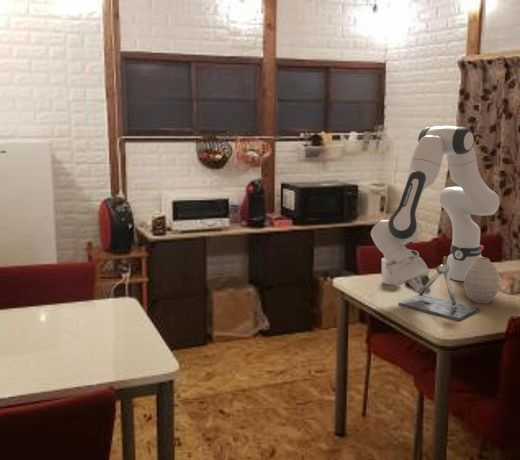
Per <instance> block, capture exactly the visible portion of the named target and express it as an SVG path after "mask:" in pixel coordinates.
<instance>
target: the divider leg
mask: <svg viewBox="0 0 520 460" xmlns="http://www.w3.org/2000/svg"><path fill="white" fill-rule="evenodd" d="M435 269H436V271H435V273H434V274H433V275H432V276H431V278H430V280H429V281H428V282H427V284H426V285H425V286H424V287H423V288H422V290H420V291H418V295H420V296H422V295H425V294H426V292H427V291H428V289H430V287H431V286H432V285H433V284H434V282H435V281H436V280H437V279H438V277H440V276H441V275H444V274H443V273H446V271H447V268H446V266H445V265H442V264H440V265H439V264H438V266H436V268H435Z"/></svg>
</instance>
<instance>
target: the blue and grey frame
mask: <svg viewBox="0 0 520 460" xmlns="http://www.w3.org/2000/svg"><path fill="white" fill-rule="evenodd" d="M447 259H448V256H443V258H442V264H441V265H445V266H446V268H447V271H446V273H443V274H442V275H443V278H444V281H445V285H446V289H447V292H448V296H449V300H446V299H442V298H437V297H433V296H430V295H426V294H423V295H422V296H420V295H419V294H416V295H414V296H412V297H411V296H410V297H409V298H406V299H404V300H402V301H399V302H398V306H400V307H404V308H408V309H413V310H415V311H420V312H423V313H427V314H431V315H435V316H438V317H443V318H445V319H446V318H447V319H450V320H455V321H457V322H459V321H461V320H463V319H466V318H468V317H469V316H471V315H474V314H476V313H478V312H479V311H480V308H479V307H475V306H472V305H471V306H470V305H466V304H462V303H459V302H456V298H455V294H454V290H453V287H452V284H451V280H450V278H449V275H448V271H449V269H450V268H449V265H448V264H447Z"/></svg>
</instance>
